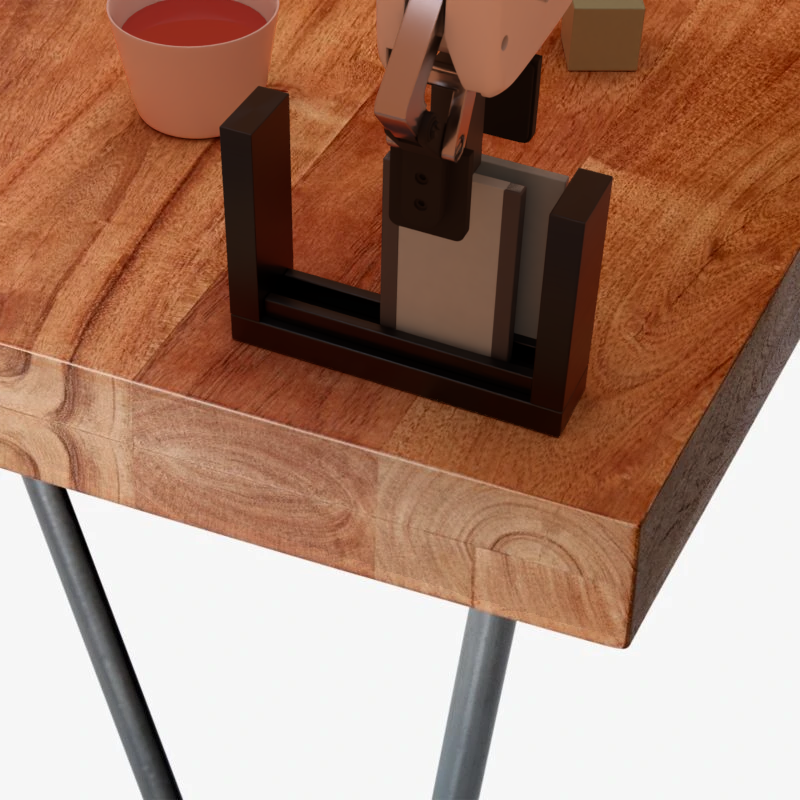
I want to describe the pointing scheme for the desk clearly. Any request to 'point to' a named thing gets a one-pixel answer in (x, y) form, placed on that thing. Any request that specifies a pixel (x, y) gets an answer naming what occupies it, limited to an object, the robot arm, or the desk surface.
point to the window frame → (360, 309)
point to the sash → (457, 259)
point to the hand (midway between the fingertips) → (464, 176)
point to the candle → (193, 58)
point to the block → (603, 34)
